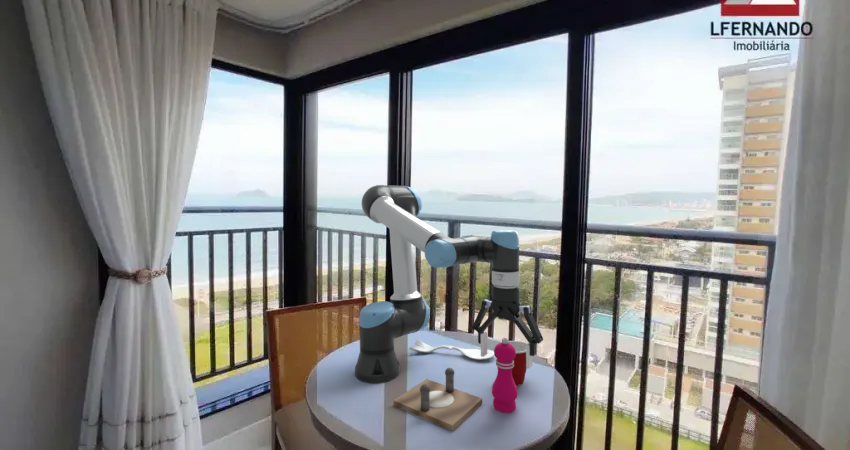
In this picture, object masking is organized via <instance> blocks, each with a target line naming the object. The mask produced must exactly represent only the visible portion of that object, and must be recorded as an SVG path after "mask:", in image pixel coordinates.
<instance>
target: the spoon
mask: <svg viewBox="0 0 850 450" xmlns="http://www.w3.org/2000/svg"><path fill="white" fill-rule="evenodd" d="M408 348H409V350H410V351H414V352H419V353H432V352H435V351H436V350H437V351H438V350H440V349H441V350H442V349H445V350H449V351H450V350H451V351H452V350H455V351H458V352H460V353H461V354H463V355H465V356H466V357H467V358H469V359H473V360H475V361H476V360H477V361H480V360H481V361H483V360H484V361H485V360H488V359H491V358H493V357H495V355H494V351H493V350H491V349H487V354H486V355H485V356H484V357H482V356H481V348H480V349H475V348H461V347H458V346H453V345H438V346H435V347H433V346H431V345H429V344H427V343H425V342H423V341H421V340H420V339H415V342H414V345H413V346H410V347H408Z"/></svg>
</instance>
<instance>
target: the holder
mask: <svg viewBox="0 0 850 450" xmlns="http://www.w3.org/2000/svg"><path fill="white" fill-rule="evenodd" d="M444 374H445V384H442V383H439V382H436V381H434V380H431V379H427V378H426V379H424V380H422V381H421V382H419V383H418V384H417V385H415V386H414V387H412V388H410V389H409V390H408V391H407V390H406V391H405V392H404V393H402V394H401V395H400V396H398V397H397V398H395V399H393V402H392V403H393V406H394V407H396V408H398V409H400V410H403V411H405V412H408V413H409V414H412V415H414V416H416V417H419V418H421V419H424V420H426V421H428V422H431V423H433V424H435V425H438V426H440V427H442V428H444V429H447V430H449V431H451V432H453V431H455V430H456V429H457V428H458V427H459V426H460V425H461V424H462V423H463V422H464V421H466V419H467V418H468V417H470V416H471V415H472V414H473V413H474V412H475V411H476V410H477V409H478V408H479V407H480V406H482V404H483V398H482V397H479V396H478V395H477V396H476V395H474V394H471V393H468V392H466V391H463V390H460V389H457V388H454V387H455V382H454V381H455V379H454V378H455V370H454V369H453V368H451V367H447V368H446V369H445V371H444Z"/></svg>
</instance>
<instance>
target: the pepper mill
mask: <svg viewBox="0 0 850 450" xmlns="http://www.w3.org/2000/svg"><path fill="white" fill-rule="evenodd" d="M508 341H509V339H508V338H507V337H503V338H502V339H501V342H499V343H497V344H496V345H495V346H494V349H493V350H494V351H493V352H494V357H495V365H496V368H497V373H496V377H495V380H494V382H493V384H492V387H491V395H492V397H493V401H492V402H493V404H492V406H493V408H494V410H496V412H497V411H498V412H499V413H502V414H510V413H513V412H515V411H516V408H517V401H516V400H517V398H518V396H519V395H518V394H519V393H518V388H517V385H516V384H515V382H514V380H513V377H512V368H513V367H514V361H513V359H514V358H515V356H516V351H515V348H514V347H513V345H511V344H509V343H508Z"/></svg>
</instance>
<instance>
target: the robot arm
mask: <svg viewBox="0 0 850 450" xmlns="http://www.w3.org/2000/svg"><path fill="white" fill-rule="evenodd" d="M361 208H362V211H363V213H364V214H365V215H366V217H368V219H370V220H371V221H373V222H374V223H376V224H382V225H383V226H385V227H386V228H388V229H389V240H390V241H389V243H390V254H391V255H390V256H391V268H392V281H393V282H392V283H393V294H392V295H391V296H390V297H389V298H390V301H384V300H382V301H376V302H375V301H374V302H371V303H369V304H366V305H365V306H363V307H362V308H361V310H360V312H359V318H358V319H359V320H358V325H359V354H358V357H357V362H356V365H355V366H354V367H355V368H354V376H355V378H356V379H357V380H358V381H360V382H364V383H369V384H380V383H381V384H382V383H385V382H389V381H392V380H393V379H396V378H397V377H398V376H399V375H400V371H401V370H400V368H401V367H400V362H399V361H398V357H397V354H396V351H395V339H397V338H401V337H403V336H407V335H409V334H414V333H417V332H419V331H422V330H423V329H424V328H426V326H427V325H428V323H429V320H430V316H431V313H430V312H431V311H430V307H429V305H428V304H427V301H426V300H425V299H424V298H423V296H422V294H421V292H420V291H418V283H417V282H418V280H417V270H416V268H417V267H416V255H415V254H416V253H415V247H416V248H417V249H418V250H420V251H421V252H423V253H424V258H425V260H427V264H428V265H430V267H432V268H437V269H438V268H442V269H444V268H448V267H449V268H450V267H453V266H458V265H465V264H469V263H477V262H479V263H488V264H491V284H492V287H491V298H492V299H491V300H489V299H488V298H486V299H484V300H482V301H481V304H480V309H479V311H478V313H477V316H476V318H475V320H474V322H473V323H472V326H471V329H472V330H473V331H476V332H477V343H478V344H479V345H480V350H481V356H482V357H484V356H485V355H486V354H487V350H488V331H486V330H487V329H488V328H489V326H490V325H491V324H492V323H493V322H494V321H495V320H496V319H497V318H498V319H500V320H506V321H512V322H513V324H515V325H516V327H517V329H519V331H520V332H521V333H522V335H523V336H524V338H525V339H526V341H527V342H526V343H527V344H526V368H527V369H528V370H530V368H532V367H533V364H534V363H533V362H534V360H533V358H534V356H535V355H536V354H537V344H541V343H542V342H543V341H544V337H543V335H542V333H541V331H540V328H539V325H538V324H537V322H536V319H535V318H534V315H533V313H532V306H531V305H530V304H527V305H521V304H520V287H519V285H520V247H521V245H520V238H519V236H520V234H519V233H518V231H516V230H513V229H496V230H495V229H494V230H492V231H491V236H482V235H481V236H480V235H472V234H471V235H462V236H460V237H449V236H448V235H446V234H444V233H443V232H441V231H439V229H436V228H434V227H433V226H431V225H429V224H428V223H426V222H425V221H423V220H422V219H420V218H418V217H417V216H419V215H420V213H421V210H422V208H423V202H422V198H421V196H420V194H419V192H418V191H417V190H416V189H415V188H413V187H411V186H406V185H386V184H385V185H384V184H378V185H377V184H376V185H374V186H372V187H370V188H368V189H366V191H365V192H364V194H363V195H362V198H361ZM490 307H491V308H492V310H493V312H492V313H491V314H489V316H488V317H487V319H486V320H485V321H484V322H483V320H484V319H485V316H486V314H487V312H488V309H489V308H490ZM520 311H521V313H522V314H523V316H524V319H525V321H526V322H525V321H524V320H523V318H522V316H521V314H520V313H519V312H520ZM482 322H483V323H482ZM527 325H528V326H527Z"/></svg>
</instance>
